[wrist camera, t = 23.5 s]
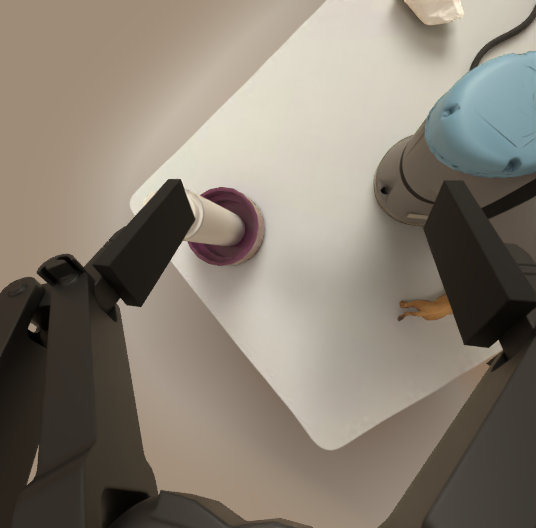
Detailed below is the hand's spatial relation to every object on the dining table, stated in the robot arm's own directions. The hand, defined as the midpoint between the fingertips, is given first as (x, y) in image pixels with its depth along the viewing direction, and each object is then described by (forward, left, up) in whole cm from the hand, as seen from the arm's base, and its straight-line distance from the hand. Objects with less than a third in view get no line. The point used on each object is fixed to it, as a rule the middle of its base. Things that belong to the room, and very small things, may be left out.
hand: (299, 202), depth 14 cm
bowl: (+6, -16, -36) cm, 39 cm away
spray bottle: (+6, -16, -35) cm, 39 cm away
